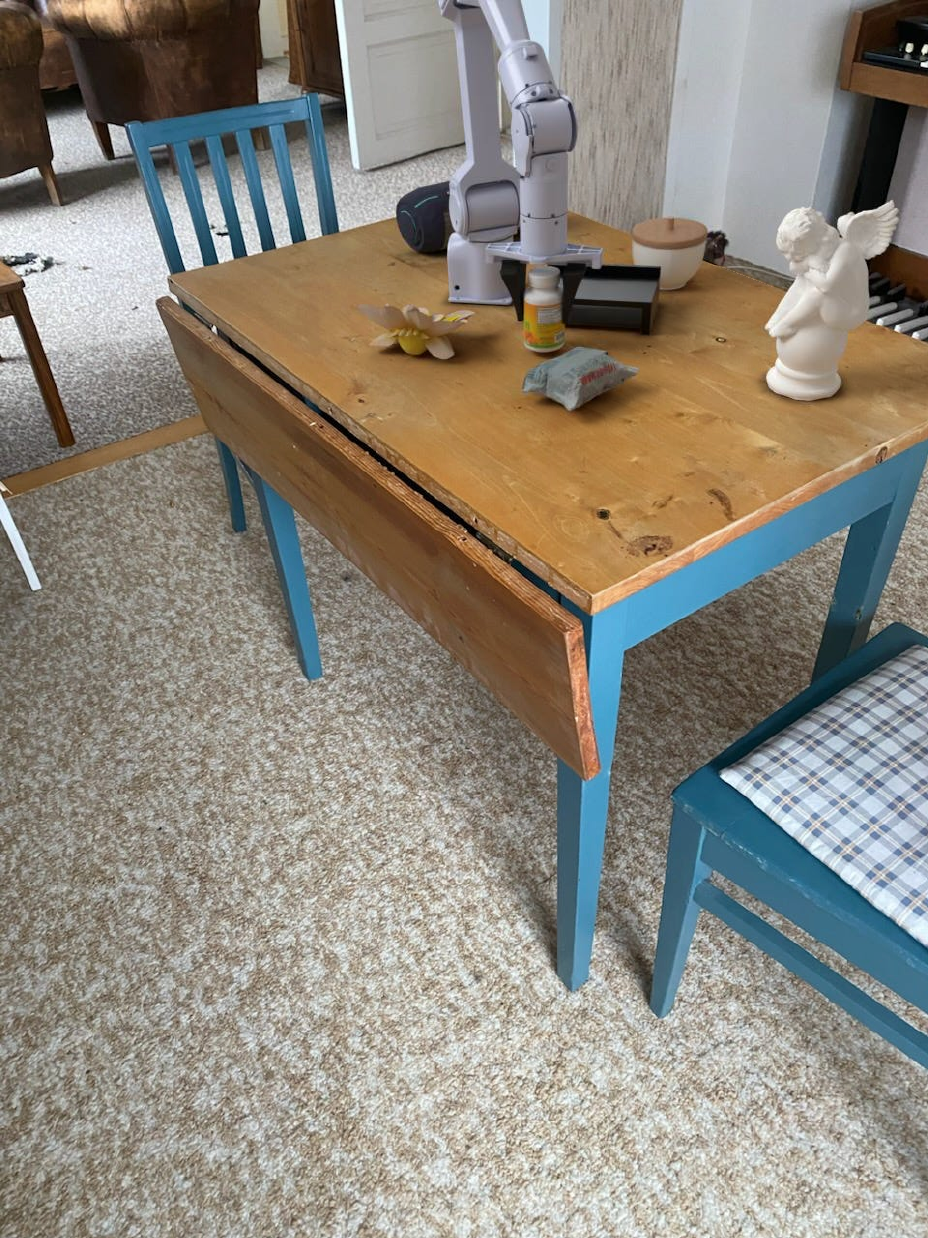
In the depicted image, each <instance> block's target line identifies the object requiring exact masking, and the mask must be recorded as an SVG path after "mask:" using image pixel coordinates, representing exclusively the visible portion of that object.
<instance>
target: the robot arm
mask: <svg viewBox="0 0 928 1238" xmlns="http://www.w3.org/2000/svg"><path fill="white" fill-rule="evenodd" d="M437 3H438V8H439V9H440V10H439V12H440V16H441V17H442V18H445V19H447V20H449V21H451V22H452V27H453V32H454V38H455V48H456V58H457V69H458V78H459V89H460V99H461V110H462V120H463V121H462V123H463V132H464V133H463V134H464V141H465V142H464V143H465V153H466V160H464V162H463V164H462V165H460V166H459V168H458V169H457V170H456V171H455V172H453V175H452V176H451V177H450V179H449V181H450V183H449V185H450V198H449V211H450V218H451V222H452V225H453V228H454V230H455V231H456V232H455V233H452V234H451V236H450V239H449V242H448V248H447V249H446V250H447V252H446V253H447V254H446V260H447V261H446V262H447V274H448V289H449V292H448V293H449V297H448V302H450V303H463V304H482V305H499V306H502V305H503V306H510V305H511V304H512V303H513V307H514V311H515V314H516V319H517V322H521V323H522V322H523V323H524V314H523V294H524V291H525V289H526V280H527V266H528V265H531V266H547V265H567V267H566V269H565V270H564V272H563V274H562V280H563V295H564V304H563V317H562V319H563V324H565V325H570V324H569V321H570V319H571V313H572V308H573V303H574V300H575V296H576V293H577V290H578V287H579V285H580V282H581V280H582V278H583V275H584V273H585V271H586V269H587V267H588V266H591V267H592V268H593V269H600V268H601V266H602V264H604V247H597V246H596V247H595V246H589V245H582V244H578V243H573V242H572V243H571V242H568V210H569V209H568V205H569V153H571V152H573V151H574V150H575V148H576V145H577V142H578V135H579V126H578V124H579V123H578V116H577V115H578V114H577V111H576V107H575V104H574V102H573V99H572V98H571V97H570V96H569V95H566V93H565V91H564V90H563V89H558V87H557V85H556V81H555V78H554V76H553V73H552V69H551V67H550V64H549V61H548V58H547V55H546V52H545V50H544V47H543V46H542V45H541V44H540V43H539V42H536V41H535V40H531V37H530V32H529V28H528V24H527V21H526V17H525V11H524V8H523V4H522V0H437ZM494 40H495V42H496V44H497V47H498V48H499V51H500V53H501V55H500V57H499V59H498V61H497V68H496V66H495V54H494V53H495V52H494ZM496 69H497V73H498V76H499V79H500V83H501V85H502V89H503V91H504V94H505V97H506V100H507V102H508V106H509V109H510V112H511V115H512V117H511V122H510V123H511V124H510V136H511V143H512V147H513V151H514V165H515V166H514V165H513V164H511V163H509V162H508V161H507V160H505V159H504V158H503V155H502V143H501V132H500V131H501V129H500V119H499V118H500V117H499V105H498V104H499V103H498V92H497V91H498V90H497V79H496V78H497V77H496ZM515 167H516V168H515ZM519 173H520V174H519ZM499 180H503V181H504V182H499V183H493V184H486V185H480V186H474V187H470V186H472V185H474V184H480V183H486V182H493V181H499ZM519 226H521V230H520V241H514V235H517V234H518V231H517V227H519Z"/></svg>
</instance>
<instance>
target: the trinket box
mask: <svg viewBox="0 0 928 1238" xmlns="http://www.w3.org/2000/svg"><path fill="white" fill-rule="evenodd" d="M708 233H709V231H708V228H707V226H706V225H704V223H702V222H699V221H696V220H693V219H690V218H684V217H683V218H682V217H675V216H667V217H657V218H652V219H651V218H650V219H647V220H643V221H641V222H639V223H638V224H636V225H635V226H634V227H633V228H632V229H631V238H632V240H631V249H632V250H631V253H632V254H631V256H632V261H633V265H642V266H661V277H660V290H659V291H673V290H679V289H681V288H683V287H685V286H686V285H687V283H688V282H689V281H690V280H691V279H692V278H693V277H694V276H695V275H696V274H697V272H698V271H699V269H700V267H701V264H702V262H703V259H704V255H705V250H706V244H707V242H706V241H707V238H708V235H709V234H708Z"/></svg>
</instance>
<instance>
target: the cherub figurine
mask: <svg viewBox="0 0 928 1238" xmlns="http://www.w3.org/2000/svg"><path fill="white" fill-rule="evenodd" d="M899 210H900V209H899V208H898V207H895V201H894V199H891V200H890V201H888V202H886V203H884V204H883V205H881V206H879V207H877V208H874V209H869V210H862V211H861V212H860V211H859V212H858V213H856V214H855V213H854V212H853V211H850V212H848V213H847V214H843V215H841V216H839V217H838V219H837V223H836V224H837V225H836V226H837V229H836V228H835V226H832V225H830V224H828V223H827V222H826V219H825V217H824V214H823V212H822V211H817V210H815V209H813V207H812V206H809V207H805V206H802V207H798V208H794V209H792V210H790V211H789V212H788V213H786V215H785V216H784V217H783V219H782V220H781V224H780V225H779V227H778V228H777V234H776V240H775V243H776V247H777V250H778V251H779V252H780V253H781V254H782V255H783V256H784V258H785V259H786V260H787V261H790V263H789V272H790V273H791V274H794V275H797V276H796V278H795V280H794V282H793V283H792V284H791V286H790V287H789V288H788V290H787V291H786V293H785V295H784V296H783V298H782V299H781V301H780V303H779V305H778V306H777V308H776V310H775V311H774V313H773V314H772V315H771V317H770V318H769V320H768V322H767V323H766V324H765V326H764V329H765V331H767V332H768V335H769V336H770V337H771V338H772V339H773V338H774V339H776V341H775V342H776V343H775V344H776V345H775V348H776V354H777V356H778V357H777V358H776V360H775V363H774V366H772V367H771V368H769V370H768V372H767V373H766V384H767V386H768V388H769V389H770V390H771V391H773V392H774V393H776V394H778V395H781V396H782V395H783V396H784V397H788V398H790V399H793V400H797V401H798V400H799V401H808V402H809V401H815V400H821V399H825V398H830V397H833V395H835V394H836V393H837V392H838V391H839V389H840V388H841V384H842V379H841V376H840V375H839V374H838V370H839V366H838V363H839V361H840V360H841V359H842V357H843V355H844V353H845V351H846V348H847V344H848V332H849V331H853V330H856V329H857V328H859V327H860V326H862V325H863V324H864V323H865V321H866V319H867V317H868V315H869V311H870V293H869V269H868V265H867V261H866V260H870V259H871V258H875V257H876V256H877V255H882V253H884V252H886V250H887V248H888V247H889V246H890V243H891V242H892V236H893V235H894V231H896V229H897V224H899V222H900V219H899V216H897V214H899ZM840 236H841V237H840Z"/></svg>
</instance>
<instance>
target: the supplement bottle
mask: <svg viewBox="0 0 928 1238" xmlns="http://www.w3.org/2000/svg"><path fill="white" fill-rule="evenodd" d="M559 283H560V270H559V269H558V268H556V267H552V266H547V265H539V266H536V267H533V268H531V269H529V271H528V286H527V287H525V291H524V294H523V314H524V320H523V345H524V347H525V348H526V349H528V350H530V351H532V352H536V353H550V352H551V353H552V352H554V351H555V352H556V351H557V350H559V349H561V348H563V347H564V345H565V340H566V339H565V337H566V324H563V319H562V317H563V304H564V295H563V288H562V287H561V286H560V285H558V284H559Z"/></svg>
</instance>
